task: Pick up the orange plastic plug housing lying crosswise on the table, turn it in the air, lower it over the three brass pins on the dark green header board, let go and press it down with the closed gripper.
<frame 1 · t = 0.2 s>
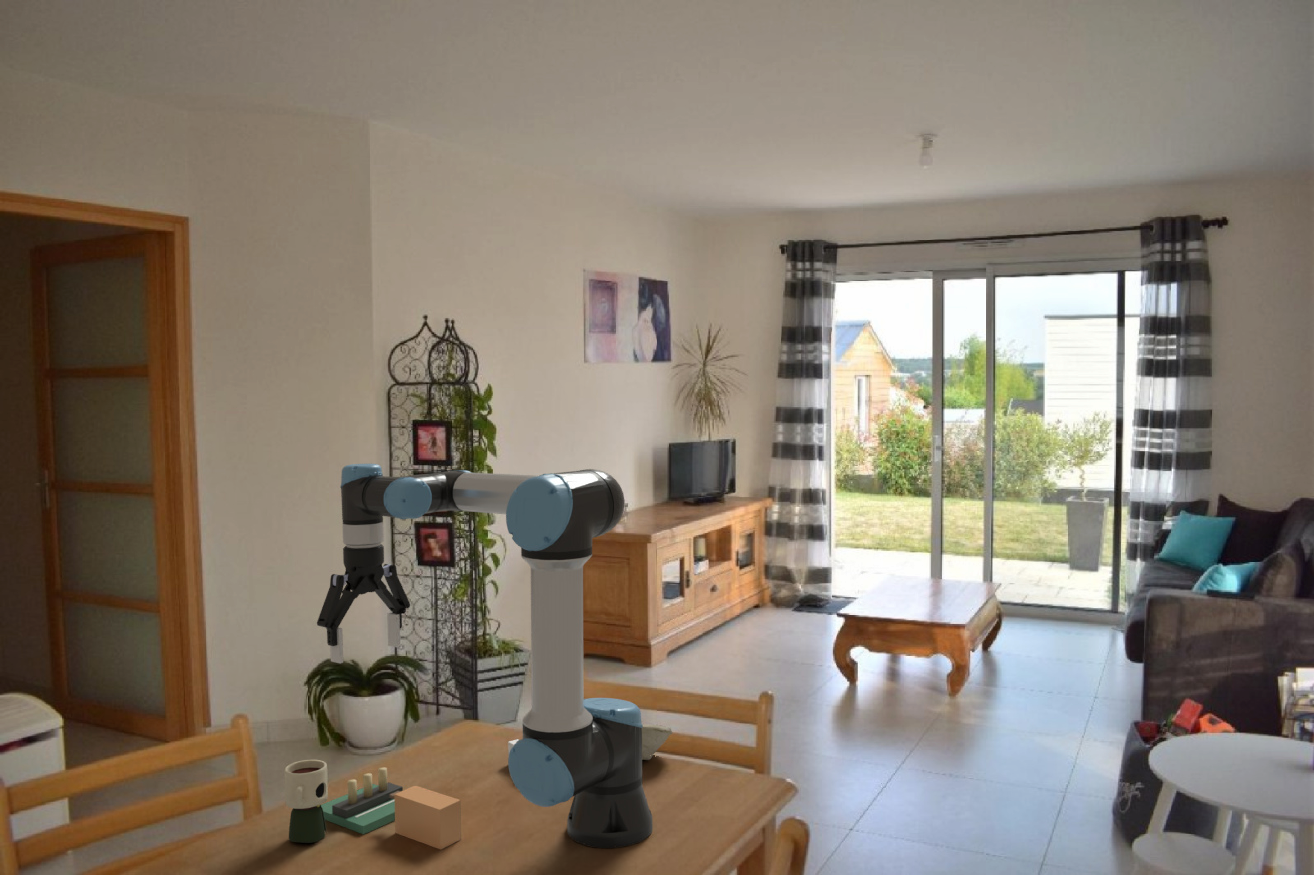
hand: (366, 654, 199), 27 cm above the table, tool pointing down, fingers open, 13 cm apart
napkin holder: (524, 776, 211), on the table
plug housing: (428, 836, 182), on the table
character mug: (307, 840, 181), on the table
header board: (368, 811, 193), on the table
bowl: (637, 760, 218), on the table
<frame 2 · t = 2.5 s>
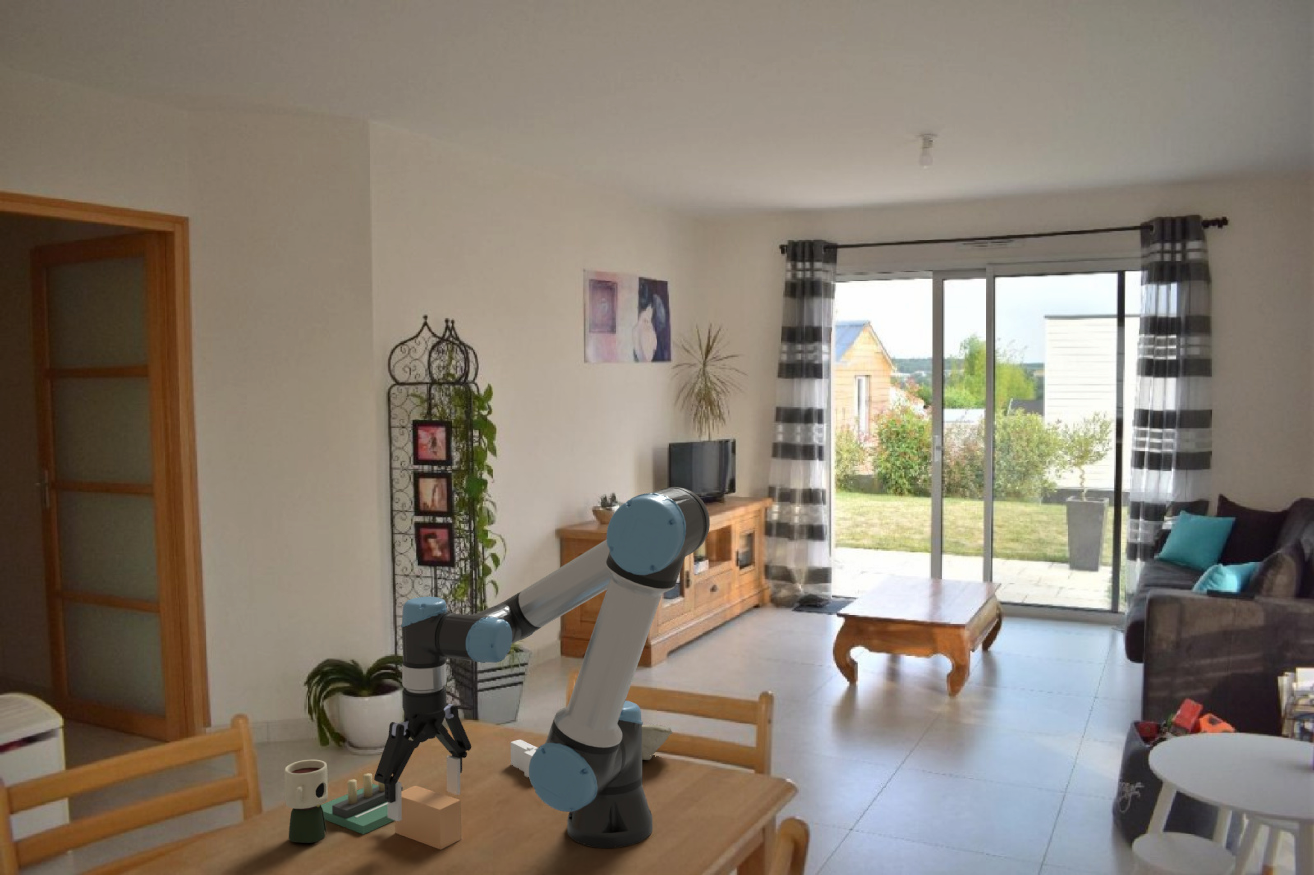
hand: (424, 805, 182), 5 cm above the table, tool pointing down, fingers open, 13 cm apart
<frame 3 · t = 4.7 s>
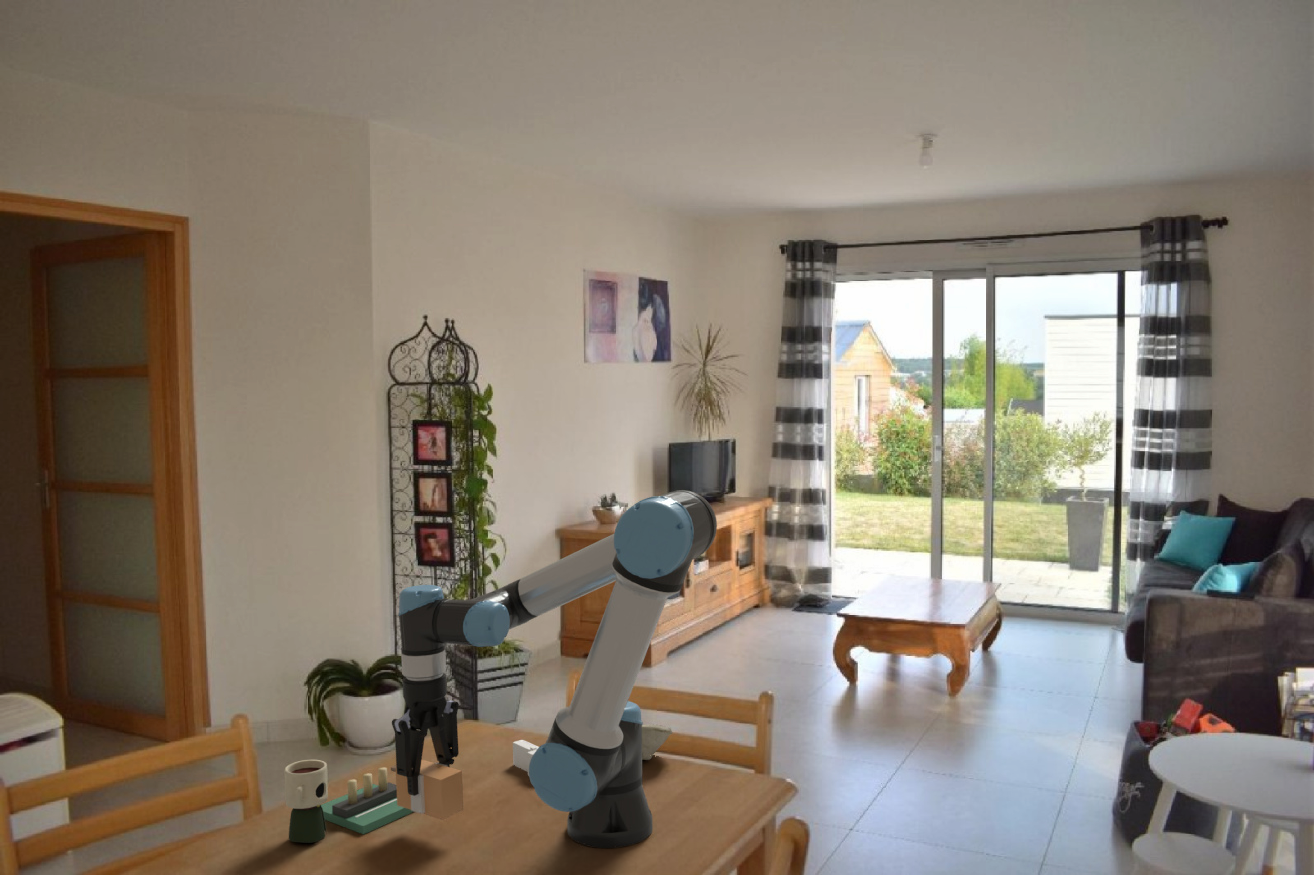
hand: (430, 805, 182), 6 cm above the table, tool pointing down, fingers closed on plug housing, 5 cm apart
plug housing: (430, 807, 182), point 5 cm above the table, touching gripper
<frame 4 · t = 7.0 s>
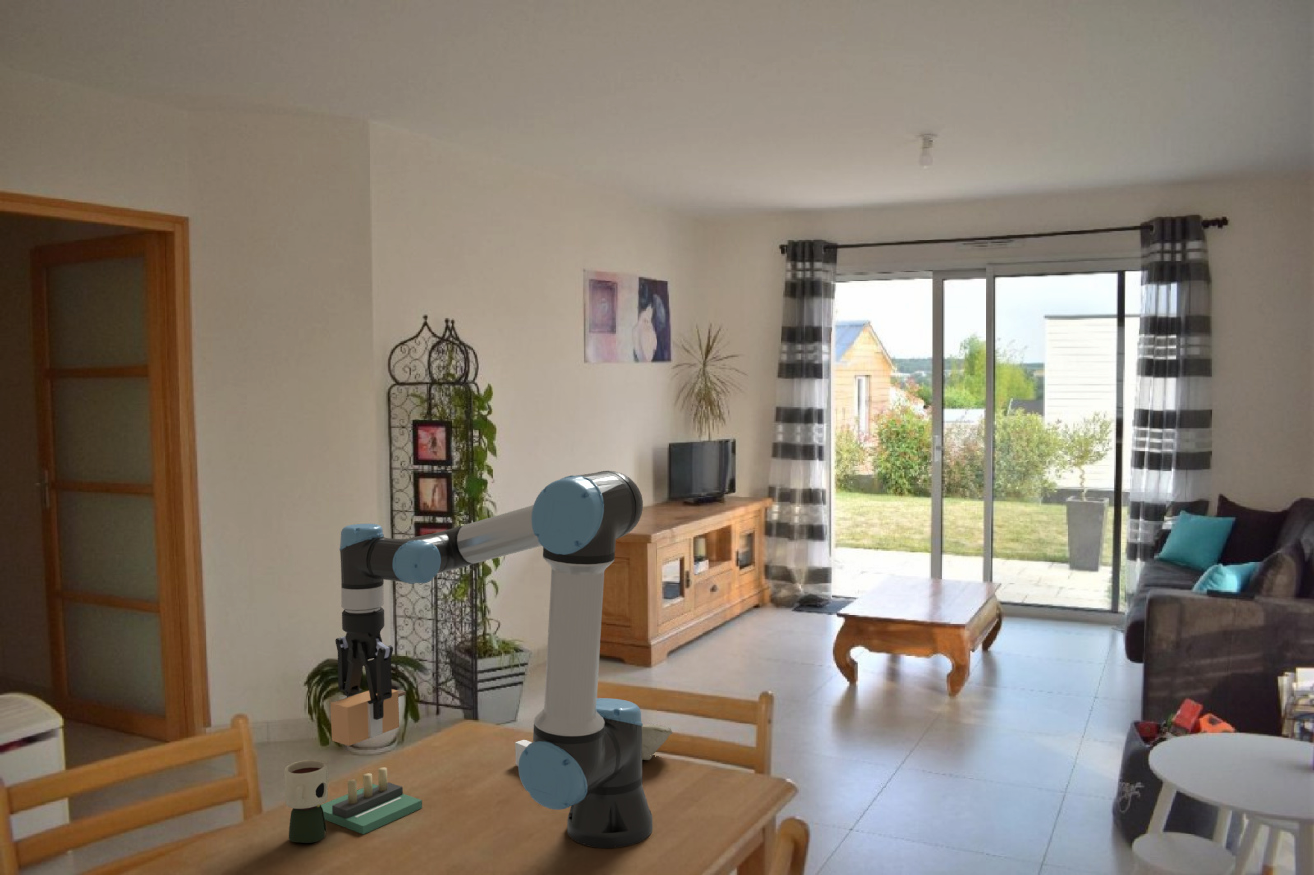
hand: (365, 732, 192), 15 cm above the table, tool pointing down, fingers closed on plug housing, 5 cm apart
plug housing: (366, 733, 192), point 15 cm above the table, touching gripper
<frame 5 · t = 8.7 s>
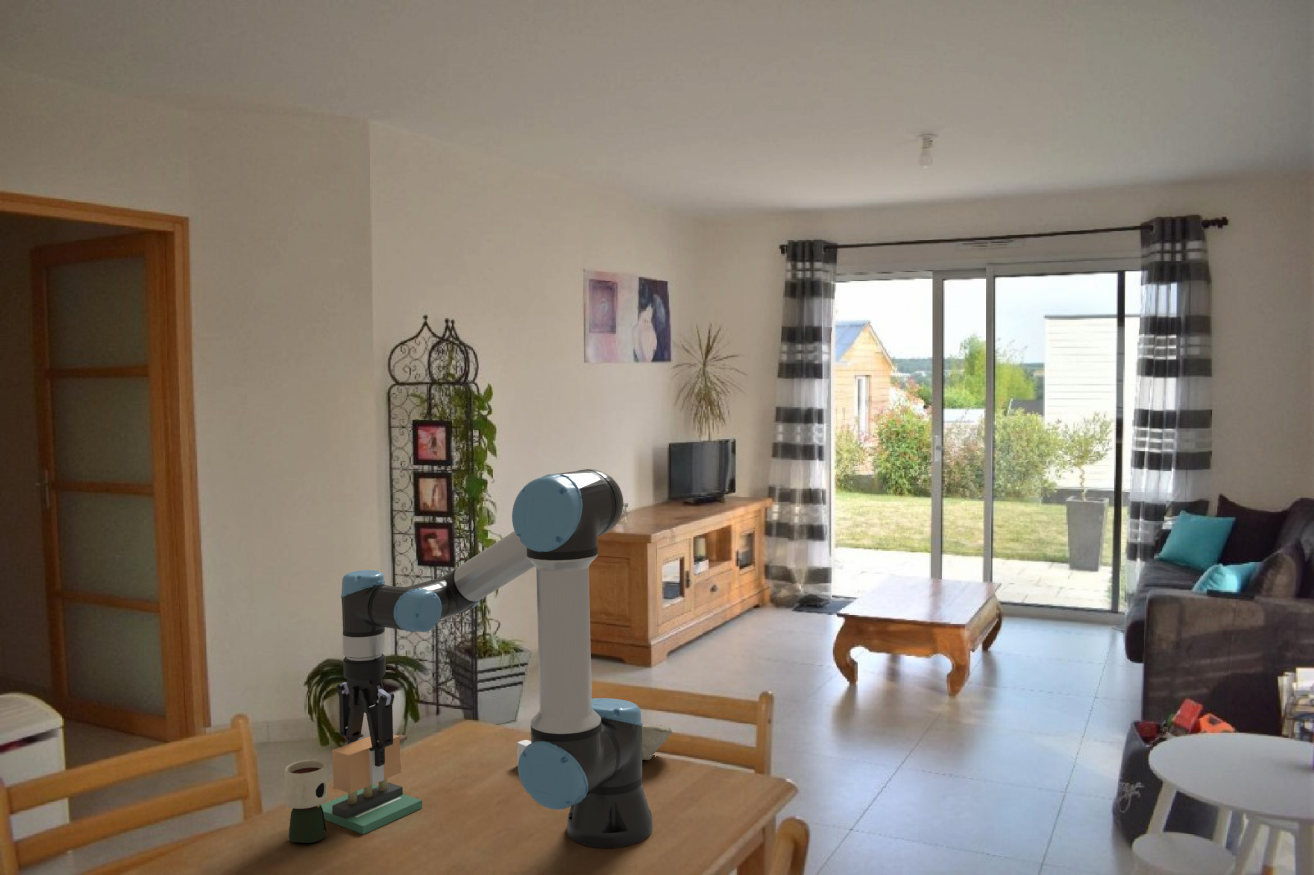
hand: (367, 778, 192), 6 cm above the table, tool pointing down, fingers closed on plug housing, 5 cm apart
plug housing: (367, 780, 192), point 6 cm above the table, touching gripper
when the fingers open (3 cm above the table, at t = 9.5 s): plug housing stays where it is, resting on header board.
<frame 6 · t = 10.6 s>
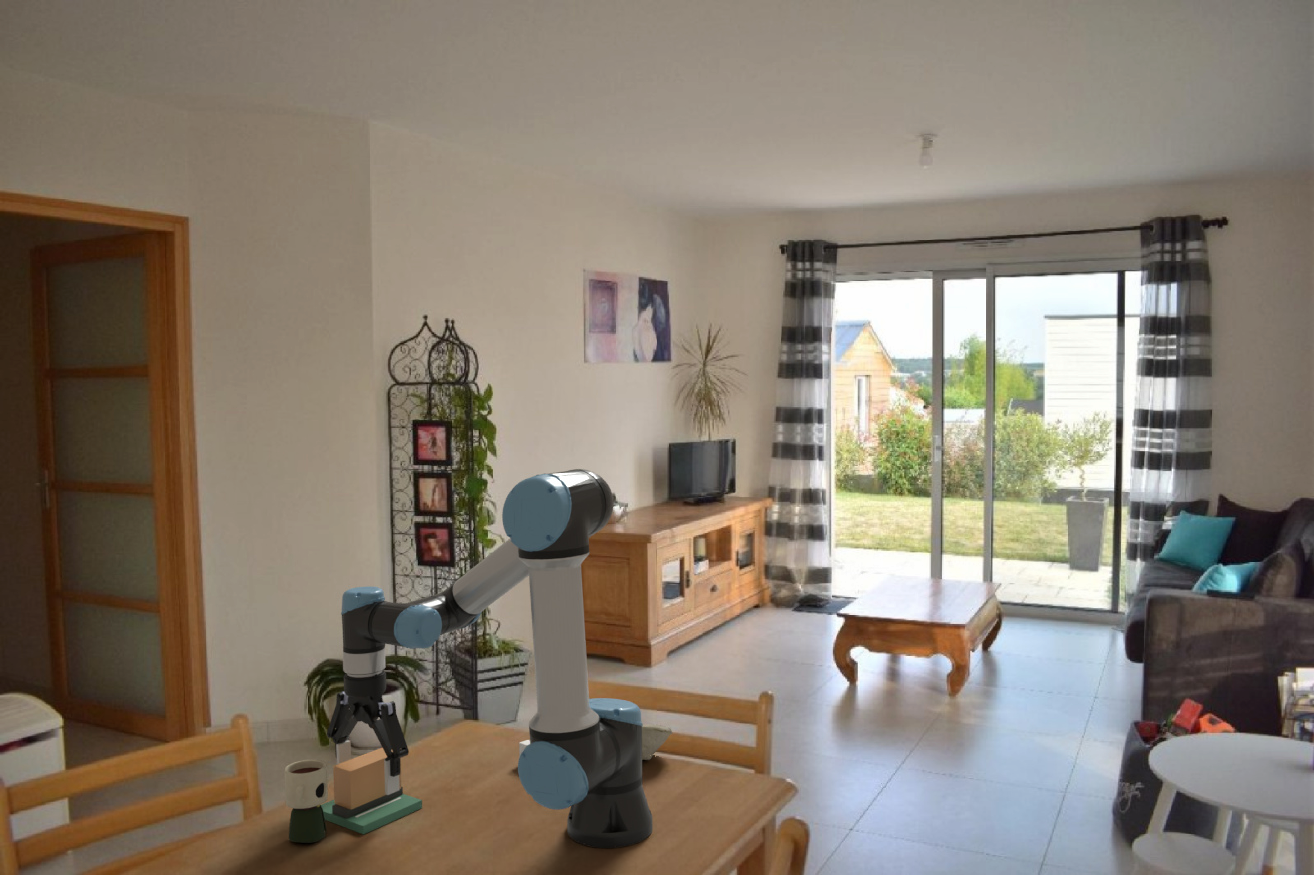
hand: (367, 784, 192), 5 cm above the table, tool pointing down, fingers open, 13 cm apart
plug housing: (368, 795, 193), point 3 cm above the table, touching header board
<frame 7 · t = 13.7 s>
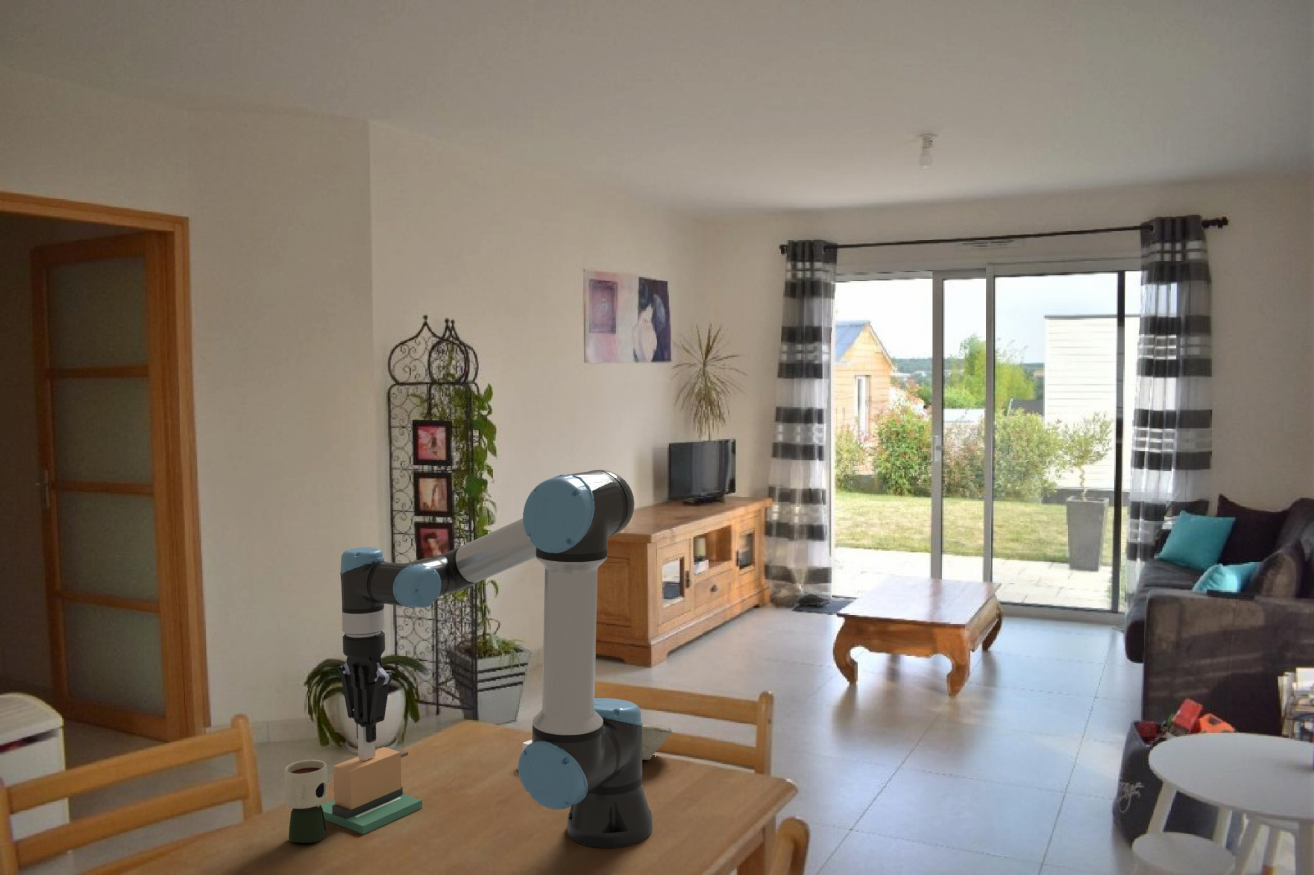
hand: (367, 757, 192), 10 cm above the table, tool pointing down, fingers closed
plug housing: (368, 795, 193), point 3 cm above the table, touching gripper, header board
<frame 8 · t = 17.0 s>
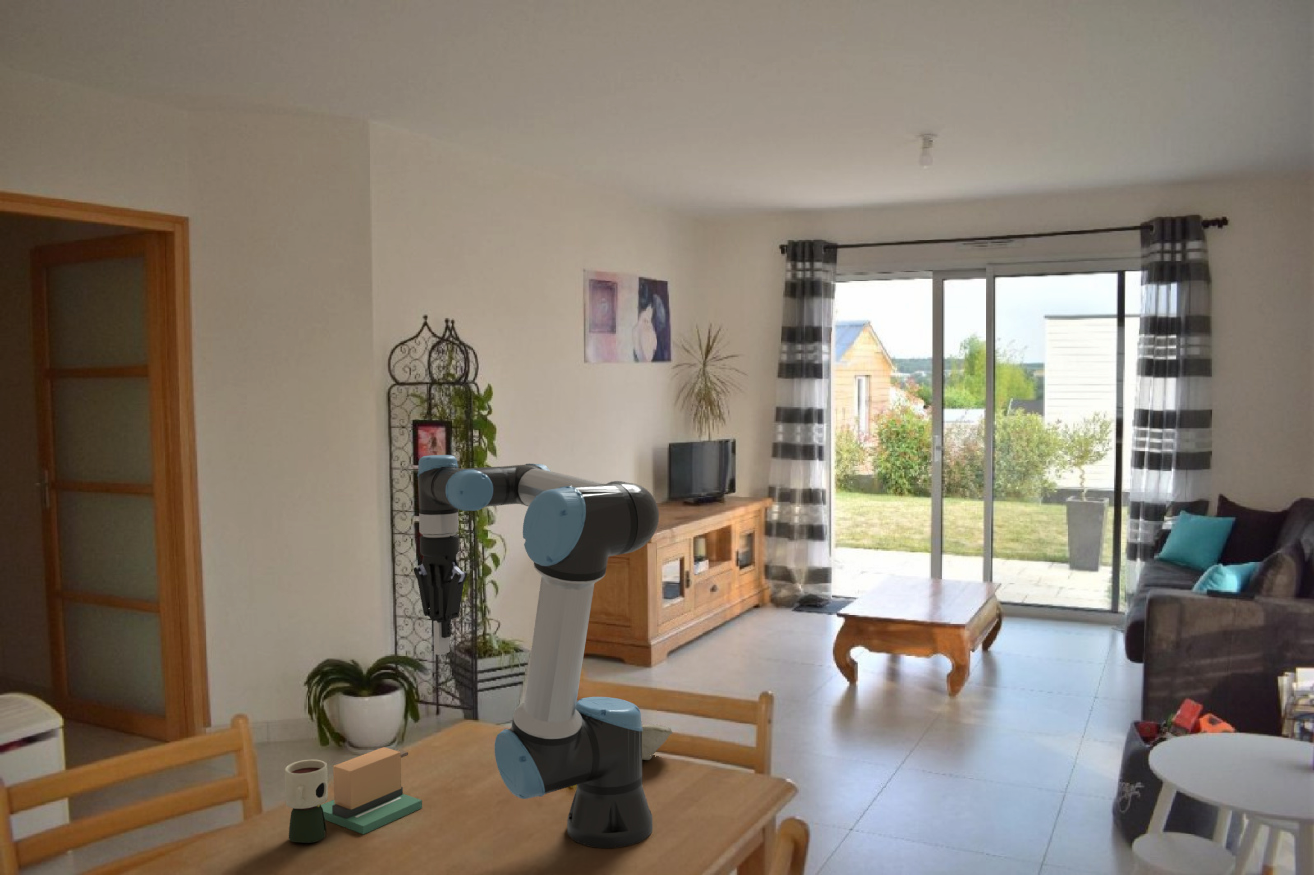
hand: (441, 652, 204), 26 cm above the table, tool pointing down, fingers closed
plug housing: (368, 795, 193), point 3 cm above the table, touching header board
at the end: plug housing 0.1 cm off-centre on the header board, point 3.0 cm above the header board's base; plug housing tilted 0°; the gripper is holding nothing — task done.
